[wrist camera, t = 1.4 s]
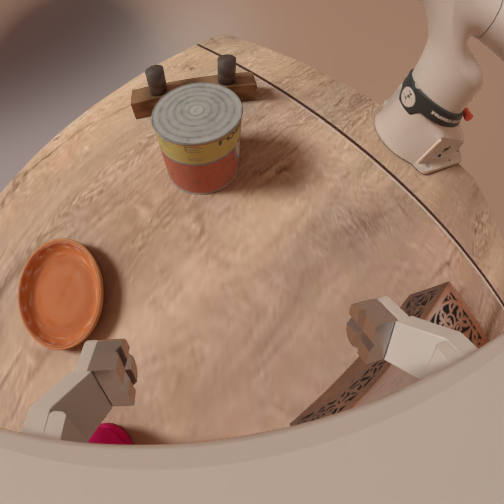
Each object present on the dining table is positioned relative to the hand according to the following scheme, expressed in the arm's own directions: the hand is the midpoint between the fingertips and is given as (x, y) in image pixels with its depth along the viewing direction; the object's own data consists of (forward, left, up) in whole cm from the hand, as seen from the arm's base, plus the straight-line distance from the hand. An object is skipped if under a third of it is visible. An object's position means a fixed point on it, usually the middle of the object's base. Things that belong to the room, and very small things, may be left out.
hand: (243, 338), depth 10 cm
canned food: (0, -26, -28) cm, 38 cm away
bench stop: (0, -41, -27) cm, 49 cm away
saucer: (+24, -9, -28) cm, 38 cm away
